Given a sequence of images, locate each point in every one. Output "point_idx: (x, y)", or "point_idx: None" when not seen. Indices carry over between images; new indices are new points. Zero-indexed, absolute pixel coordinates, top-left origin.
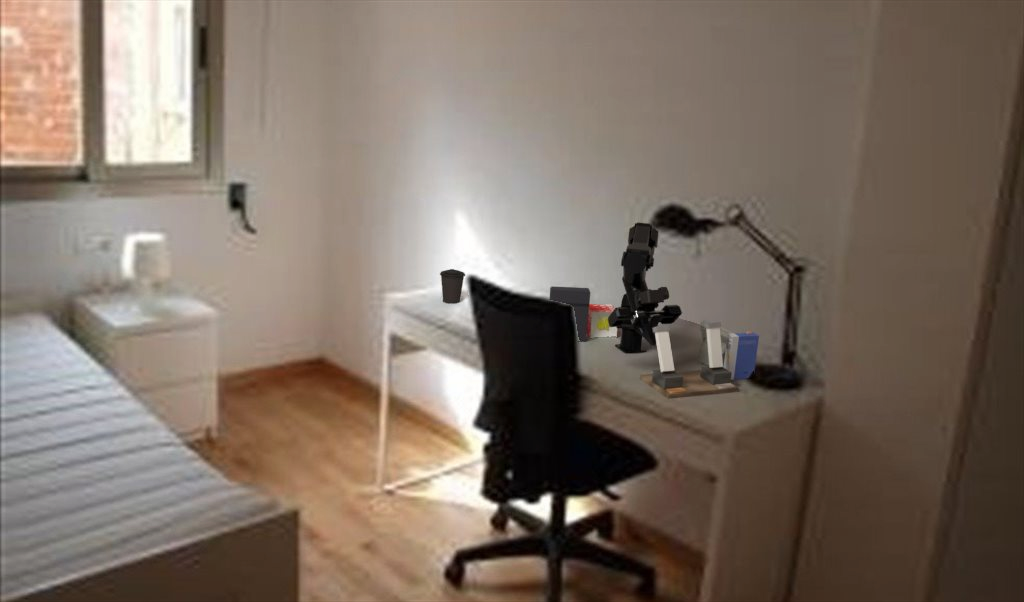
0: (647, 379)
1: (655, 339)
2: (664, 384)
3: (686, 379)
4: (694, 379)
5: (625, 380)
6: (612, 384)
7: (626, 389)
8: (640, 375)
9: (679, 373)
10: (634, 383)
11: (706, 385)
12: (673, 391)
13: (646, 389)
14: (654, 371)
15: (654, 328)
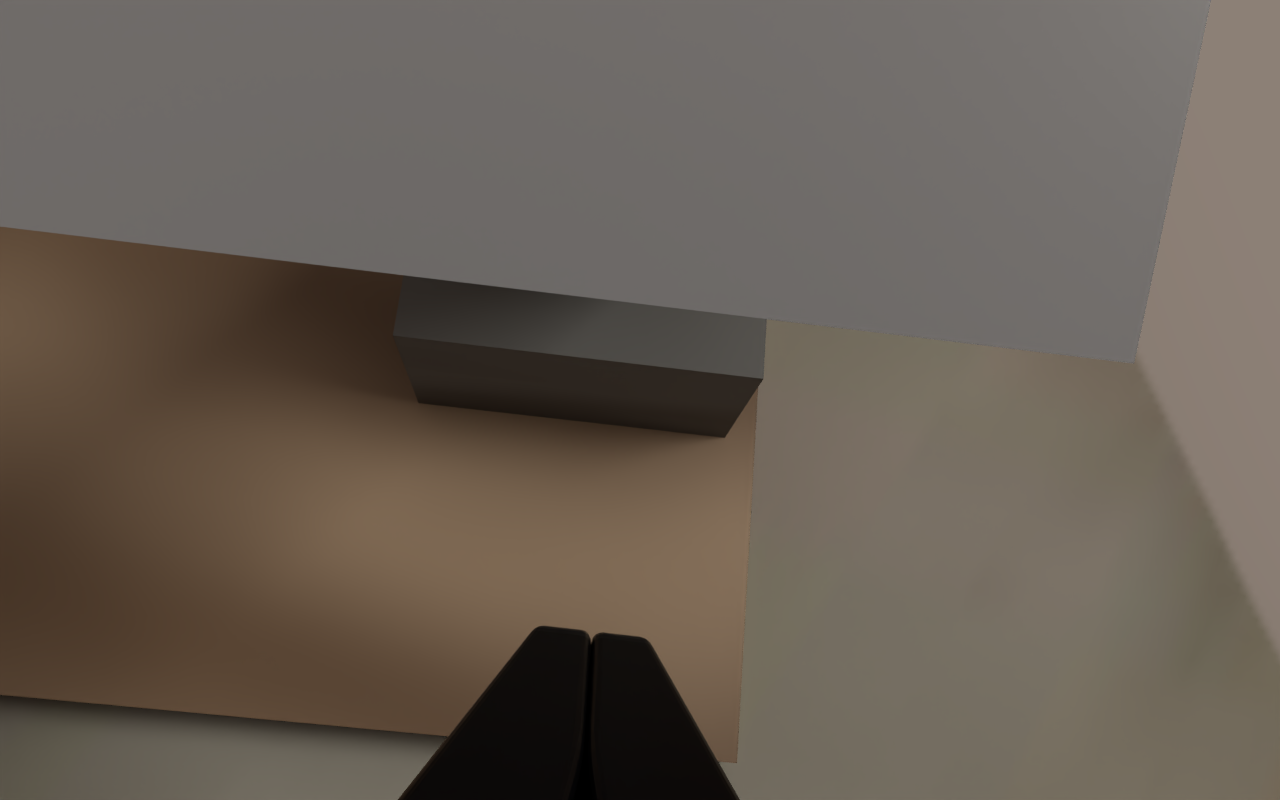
0: (742, 534)
1: (512, 714)
2: None
3: (141, 329)
4: (18, 285)
5: (988, 765)
6: (1249, 674)
7: (1133, 440)
8: (735, 758)
9: (27, 599)
10: (916, 603)
11: None
12: None
13: (869, 349)
14: (765, 330)
15: (1150, 71)
